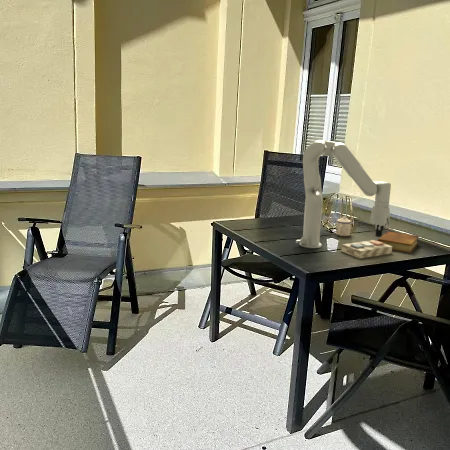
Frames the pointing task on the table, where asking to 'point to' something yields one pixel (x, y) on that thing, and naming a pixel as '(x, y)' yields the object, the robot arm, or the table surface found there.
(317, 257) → the table surface
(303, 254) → the table surface
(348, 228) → the teacup with lid
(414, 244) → the diary
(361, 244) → the key offwhite
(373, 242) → the key terracotta
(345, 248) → the beige flat block
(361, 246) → the key slate
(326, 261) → the table surface
